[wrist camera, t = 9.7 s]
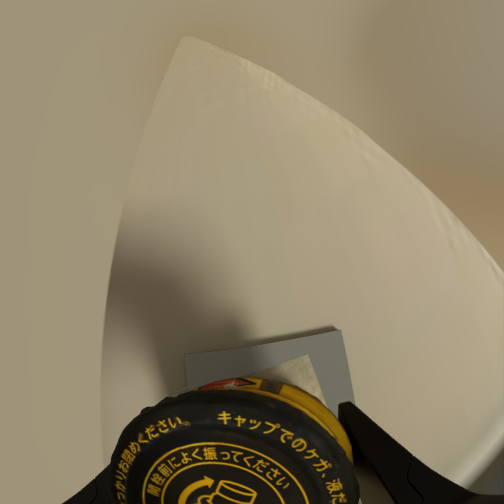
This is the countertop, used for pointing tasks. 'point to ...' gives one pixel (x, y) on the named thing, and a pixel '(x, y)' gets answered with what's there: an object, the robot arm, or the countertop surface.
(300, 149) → the countertop surface
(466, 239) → the countertop surface
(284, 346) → the slate mat
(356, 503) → the condiment
